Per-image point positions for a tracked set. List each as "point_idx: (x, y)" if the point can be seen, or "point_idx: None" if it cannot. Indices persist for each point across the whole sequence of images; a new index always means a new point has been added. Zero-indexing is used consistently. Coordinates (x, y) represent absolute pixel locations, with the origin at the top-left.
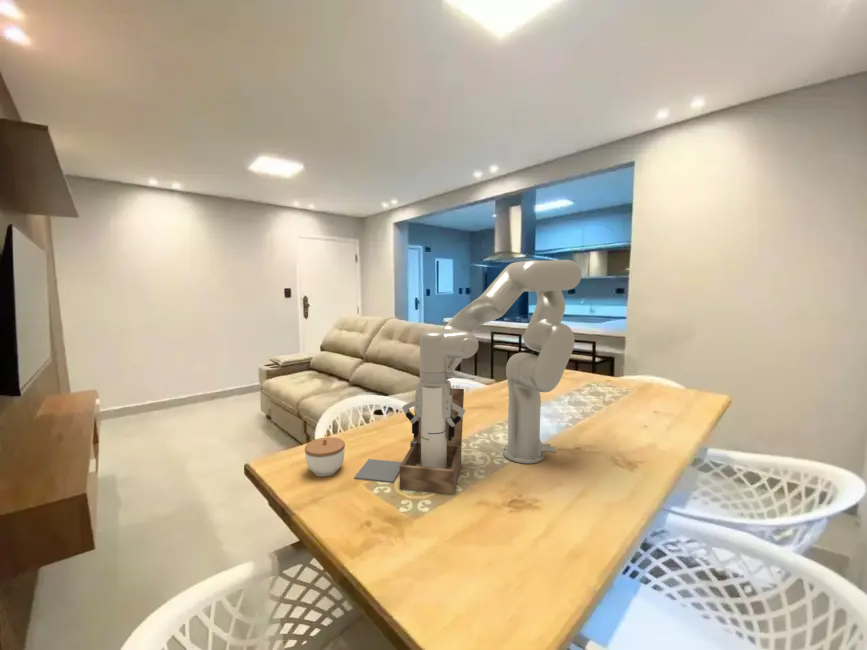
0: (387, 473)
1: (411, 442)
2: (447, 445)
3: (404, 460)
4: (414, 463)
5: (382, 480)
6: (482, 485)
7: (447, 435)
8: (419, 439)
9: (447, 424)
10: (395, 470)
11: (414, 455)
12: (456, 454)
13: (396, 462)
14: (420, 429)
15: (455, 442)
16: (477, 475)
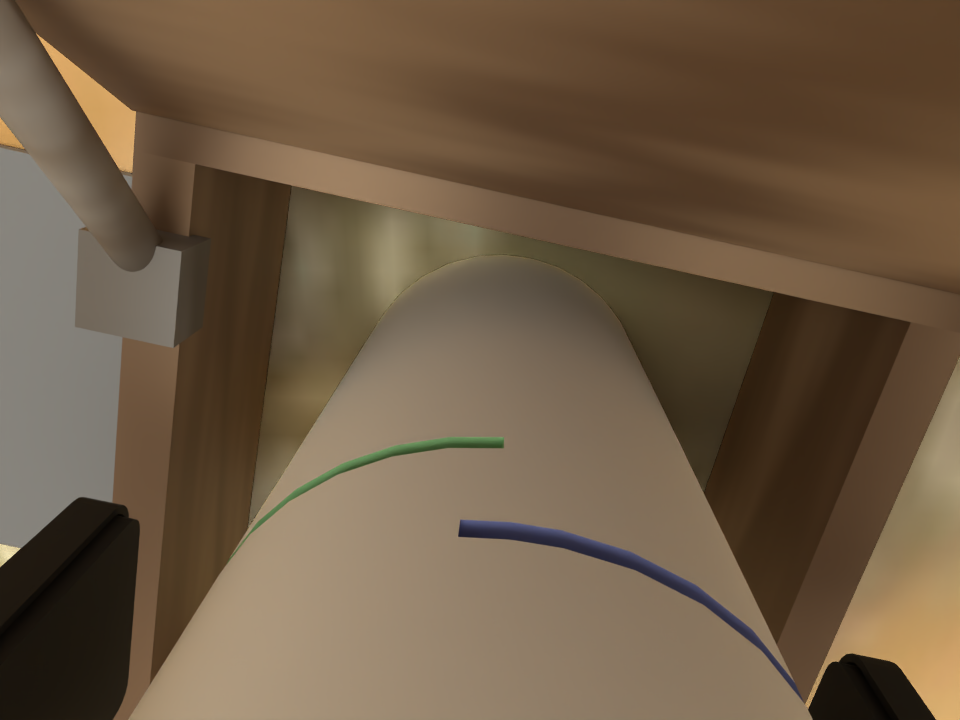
0: (17, 429)
1: (91, 304)
2: (737, 283)
3: (117, 713)
4: (265, 285)
5: (10, 544)
6: (940, 630)
7: (806, 215)
8: (218, 116)
9: (949, 136)
10: (82, 370)
11: (229, 309)
12: (817, 600)
13: (44, 183)
14: (146, 38)
15: (907, 274)
16: (956, 464)
